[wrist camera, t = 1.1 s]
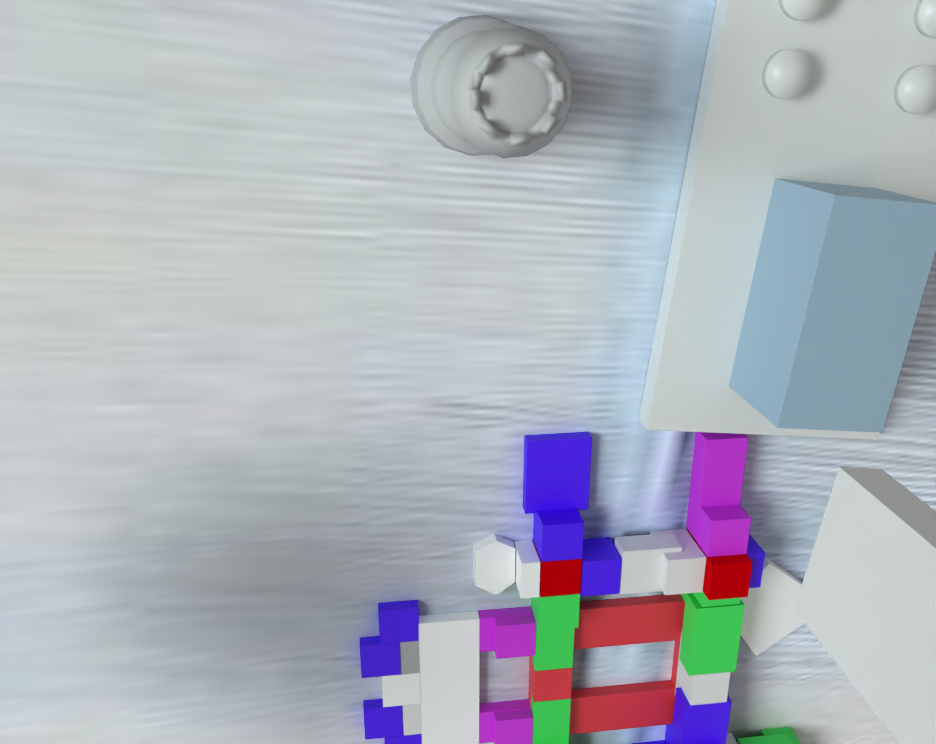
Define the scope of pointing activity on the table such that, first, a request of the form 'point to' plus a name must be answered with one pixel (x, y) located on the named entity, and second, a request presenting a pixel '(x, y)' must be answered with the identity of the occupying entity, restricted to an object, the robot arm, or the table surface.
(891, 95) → the build plate
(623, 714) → the building block set
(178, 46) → the table surface
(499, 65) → the rook chess piece
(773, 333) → the blue brick
